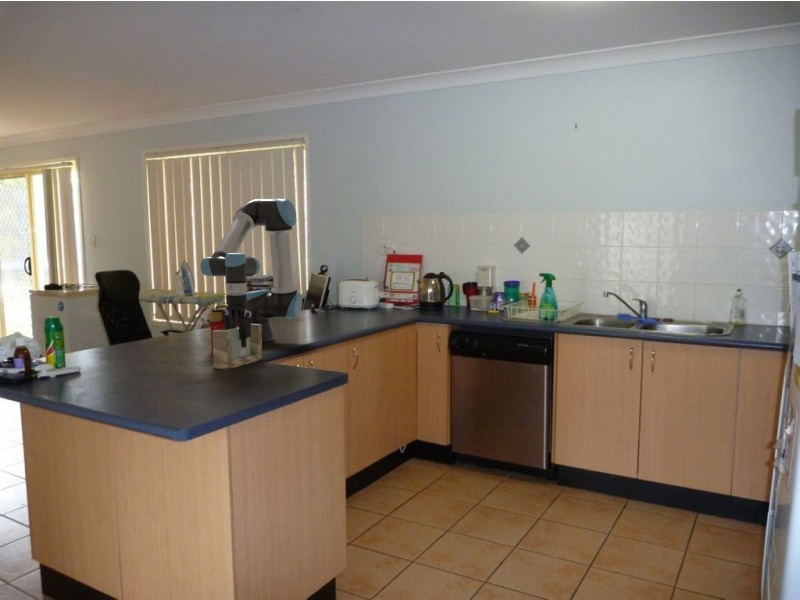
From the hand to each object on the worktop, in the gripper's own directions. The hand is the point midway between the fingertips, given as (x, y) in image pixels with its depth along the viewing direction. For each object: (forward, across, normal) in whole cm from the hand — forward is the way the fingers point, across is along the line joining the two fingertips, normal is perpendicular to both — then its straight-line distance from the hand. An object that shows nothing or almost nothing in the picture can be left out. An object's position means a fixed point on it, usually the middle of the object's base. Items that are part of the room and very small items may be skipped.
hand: (238, 355), depth 239 cm
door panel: (+2, 0, 0) cm, 2 cm away
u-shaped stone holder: (+3, 0, 0) cm, 3 cm away
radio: (+4, -17, +14) cm, 22 cm away
